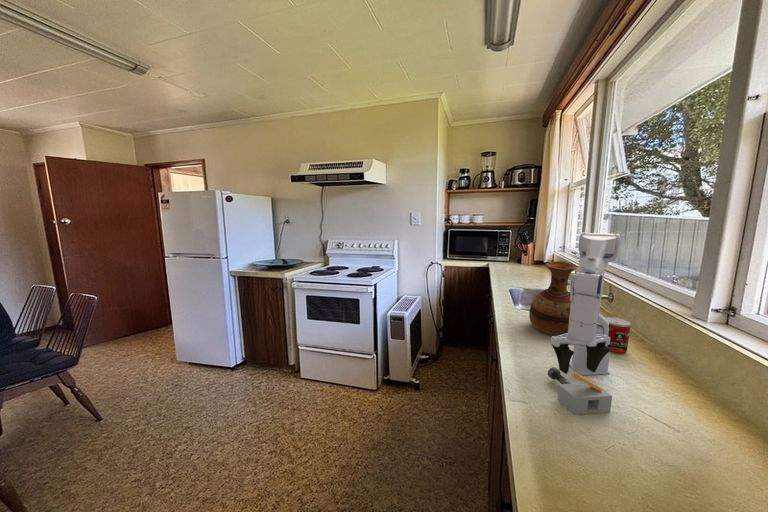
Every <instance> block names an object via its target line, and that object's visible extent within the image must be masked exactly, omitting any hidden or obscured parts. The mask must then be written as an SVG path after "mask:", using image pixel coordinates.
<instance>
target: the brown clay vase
mask: <svg viewBox="0 0 768 512" xmlns="http://www.w3.org/2000/svg"><path fill="white" fill-rule="evenodd" d="M577 266H578V265H576V264H574V263H573V262H567V261H563V260H562V261H558V260H557V261H548V262H547V263H545V267H546V268H547V269H548V270H549V272H550V275H551V276H550V284H549V286H548V288H545V289H544V290H542V291H540V292H539V293H538V294H537V295H536V296H535V298H534V299H533V300H532V302H531V304H530V308H529V312H528V313H529V314H528V315H529V316H528V317H529V322H530V323H531V325H533V326H534V327H535V328H536V329H537V330H540V331H542V332H543V333H546V334H549V335H553V336H559V335H562V334H566V333H568V327H569V317H570V307H571V301H570V291H568V289H567V286H568V282H569V277H570V274H571V272H573V271H574V270H577V269H578V267H577Z"/></svg>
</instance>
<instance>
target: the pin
mask: <svg viewBox="0 0 768 512" xmlns="http://www.w3.org/2000/svg"><path fill="white" fill-rule="evenodd" d="M547 376H548V377H549V378H550V379H551V380H556V381H557V382H559V384H571V383H572V382H571V381H570V380H568V379H567V378H565V377H564V376H563V375H562V374H561V371H560V369H558V368H556V367H550V368H549V369H548V370H547Z"/></svg>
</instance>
